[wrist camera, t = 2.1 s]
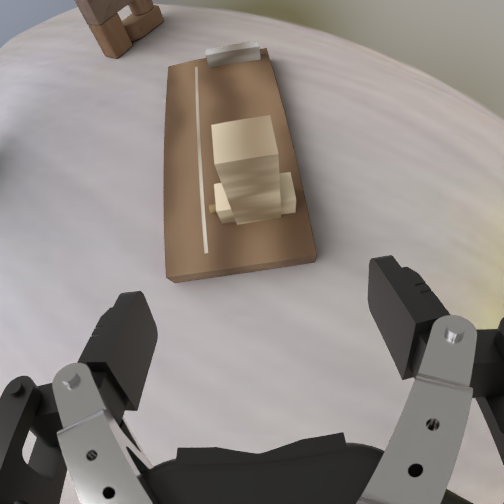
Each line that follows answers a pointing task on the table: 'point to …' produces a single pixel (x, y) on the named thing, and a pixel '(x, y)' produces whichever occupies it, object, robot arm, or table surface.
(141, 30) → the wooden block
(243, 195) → the beige tall blocky piece
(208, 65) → the walnut board
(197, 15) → the table surface
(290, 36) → the table surface
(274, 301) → the table surface
